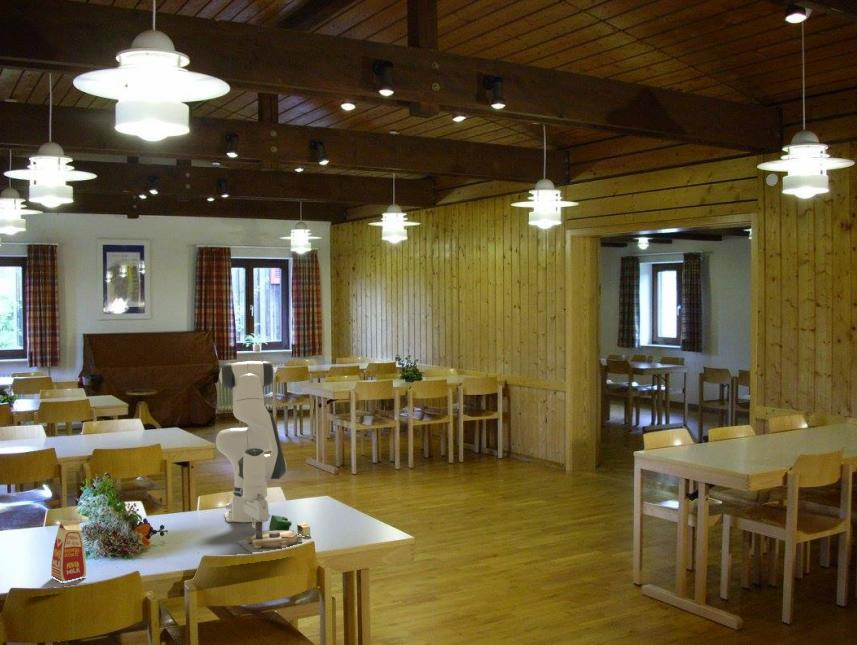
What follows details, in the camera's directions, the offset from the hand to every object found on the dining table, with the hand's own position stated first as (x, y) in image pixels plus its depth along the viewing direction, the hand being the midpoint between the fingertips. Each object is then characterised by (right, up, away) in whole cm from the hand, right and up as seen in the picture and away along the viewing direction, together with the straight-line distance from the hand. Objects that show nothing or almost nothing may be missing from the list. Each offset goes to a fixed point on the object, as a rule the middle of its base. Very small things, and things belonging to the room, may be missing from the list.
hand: (256, 528), depth 323 cm
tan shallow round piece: (+7, -4, -1) cm, 9 cm away
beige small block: (+16, -6, +12) cm, 21 cm away
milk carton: (-54, -7, -38) cm, 67 cm away
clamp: (+6, -6, +18) cm, 20 cm away
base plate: (+7, -6, -1) cm, 9 cm away
